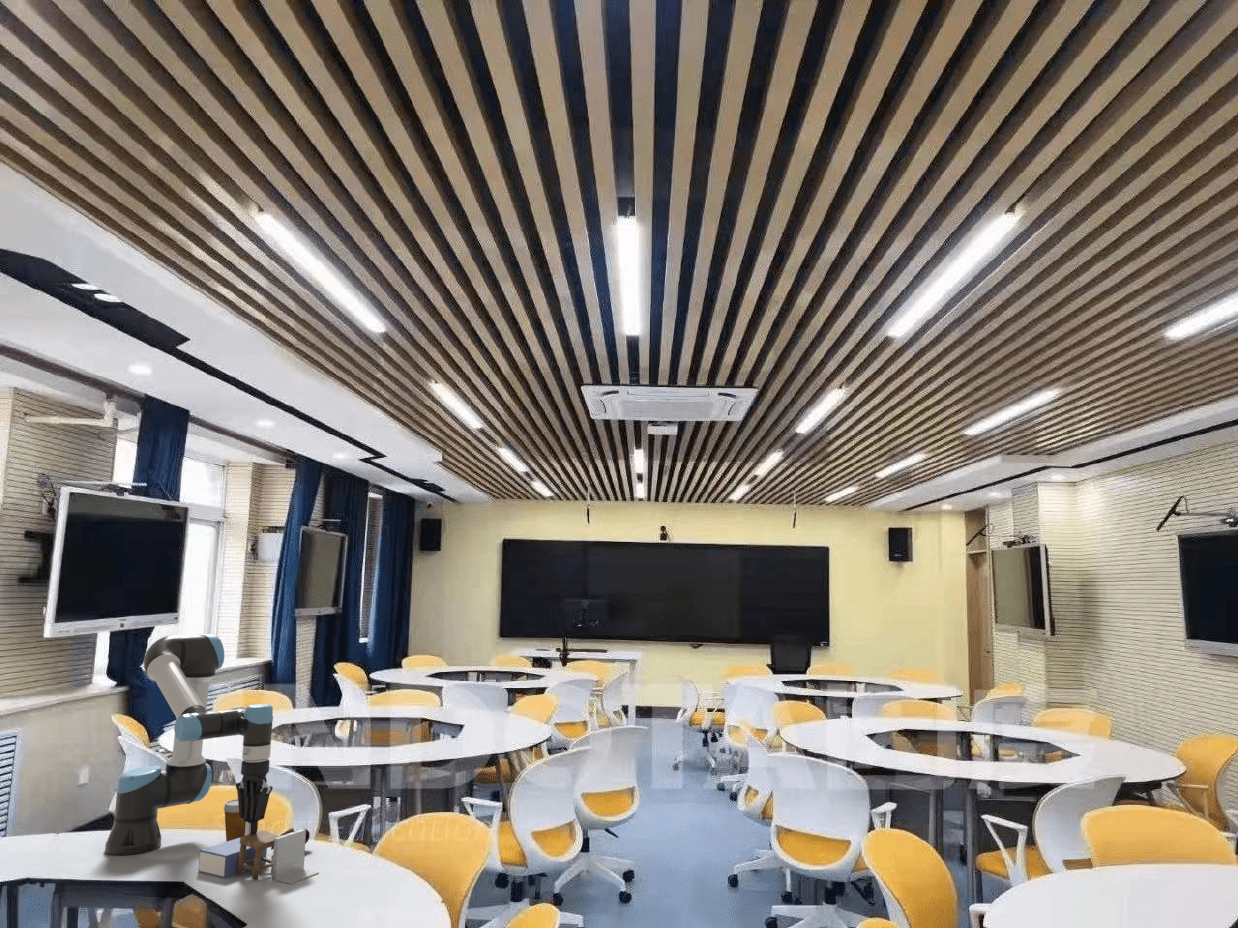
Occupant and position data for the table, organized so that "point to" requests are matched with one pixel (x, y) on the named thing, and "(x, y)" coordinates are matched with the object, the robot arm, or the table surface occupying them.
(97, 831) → the table surface
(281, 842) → the bookend
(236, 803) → the disposable coffee cup
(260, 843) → the stool
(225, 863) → the book
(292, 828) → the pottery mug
